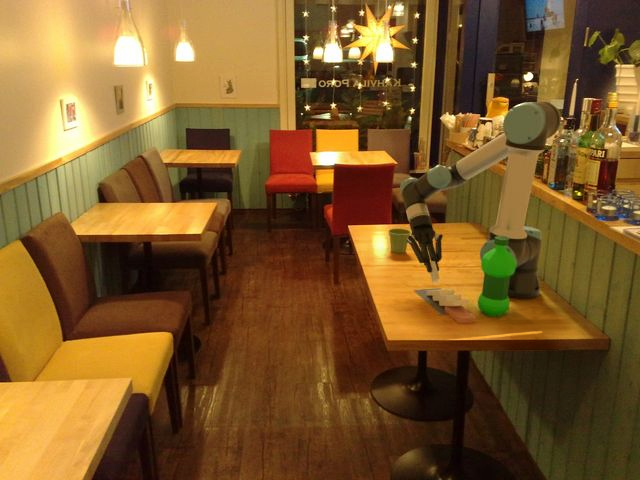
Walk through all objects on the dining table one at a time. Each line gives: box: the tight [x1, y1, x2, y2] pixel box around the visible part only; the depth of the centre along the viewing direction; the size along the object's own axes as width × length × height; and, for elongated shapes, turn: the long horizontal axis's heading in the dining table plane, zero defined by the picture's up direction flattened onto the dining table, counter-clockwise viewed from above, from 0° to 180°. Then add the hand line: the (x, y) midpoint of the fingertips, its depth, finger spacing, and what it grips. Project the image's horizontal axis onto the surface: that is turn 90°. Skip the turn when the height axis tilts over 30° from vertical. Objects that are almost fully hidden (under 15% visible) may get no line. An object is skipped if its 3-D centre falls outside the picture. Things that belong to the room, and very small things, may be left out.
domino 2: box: [433, 294, 462, 301], centre depth 194 cm, size 2×5×10 cm
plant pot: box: [387, 228, 412, 254], centre depth 251 cm, size 9×9×9 cm
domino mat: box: [413, 287, 472, 316], centre depth 198 cm, size 22×10×1 cm, turn 15°
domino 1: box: [426, 289, 455, 296], centre depth 199 cm, size 2×5×10 cm
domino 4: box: [444, 305, 476, 324], centre depth 186 cm, size 2×5×10 cm
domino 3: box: [439, 299, 470, 306], centre depth 190 cm, size 2×5×10 cm
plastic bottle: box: [477, 236, 516, 317], centre depth 187 cm, size 10×10×25 cm
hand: (436, 280), depth 201 cm, fingers closed
